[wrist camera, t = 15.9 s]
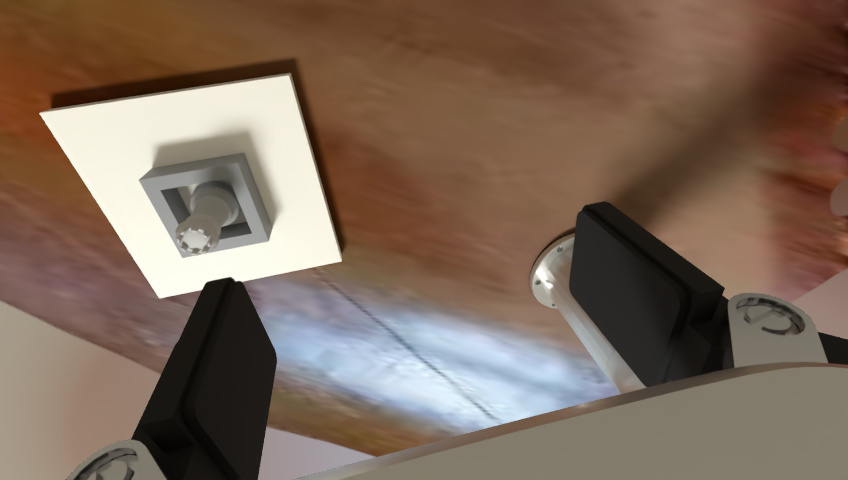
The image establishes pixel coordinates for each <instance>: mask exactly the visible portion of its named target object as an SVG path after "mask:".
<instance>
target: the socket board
mask: <svg viewBox="0 0 848 480" xmlns="http://www.w3.org/2000/svg"><path fill="white" fill-rule="evenodd" d="M39 114H40V115H41V117H42V118H43V120H44V121H45V123H46V124H47V126H48V127H49V129H50V130H51V132H52V134H53V135H54V137H55V138H56V140H57V141H58V143H59V144H60V146H61V147H62V149H63V151H64V152H65V154H66V155H67V157H68V158H69V160H70V161H71V163H72V164H73V166H74V168H75V169H76V171H77V172H78V174H79V175H80V177H81V178H82V180H83V181H84V183H85V184H86V186H87V188H88V189H89V191H90V192H91V194H92V195H93V197H94V198H95V200H96V201H97V203H98V205H99V206H100V208H101V209H102V211H103V212H104V214H105V215H106V217H107V218H108V220H109V221H110V223H111V225H112V226H113V228H114V229H115V231H116V232H117V234H118V235H119V237H120V238H121V240H122V242H123V243H124V245H125V246H126V248H127V249H128V251H129V252H130V254H131V255H132V257H133V258H134V260H135V262H136V263H137V265H138V266H139V268H140V269H141V271H142V272H143V274H144V275H145V277H146V279H147V280H148V282H149V283H150V285H151V286H152V288H153V289H154V291H155V292H156V294H157V295H158V297H159V298H164V297H169V296H173V295H178V294H183V293H188V292H193V291H198V290H202V289H203V287H204V285H205V284H206V282H208V281H212V280H217V279H222V278H227V277H232V278H233V279H234V280H235V281H241V282H242V281H247V280H252V279H257V278H262V277H267V276H272V275H277V274H282V273H286V272H291V271H296V270H301V269H306V268H311V267H316V266H321V265H326V264H331V263H336V262H341V261H342V254H341V250H340V246H339V243H338V239H337V236H336V232H335V229H334V225H333V221H332V218H331V214H330V211H329V207H328V204H327V200H326V197H325V193H324V189H323V186H322V182H321V179H320V175H319V172H318V168H317V164H316V161H315V157H314V154H313V150H312V147H311V143H310V140H309V136H308V132H307V129H306V125H305V122H304V118H303V115H302V111H301V107H300V104H299V100H298V97H297V93H296V90H295V86H294V83H293V79H292V75H291V73H285V74H278V75H271V76H265V77H258V78H251V79H245V80H238V81H232V82H225V83H218V84H212V85H205V86H198V87H192V88H185V89H179V90H172V91H165V92H159V93H152V94H145V95H139V96H132V97H126V98H119V99H112V100H106V101H99V102H92V103H86V104H79V105H73V106H66V107H59V108H53V109H49V110H46V111H43V112H41V113H39ZM210 181H219V182H224V183H226V184H228V185H230V186H232V187H233V189H234V192H235V194H236V196H237V199H238V201H239V204H240V206H241V208H242V211H241V213H240V214H239V216H238V217H237V219H236V220H235V221H234V222H232V223H230V224H229V225H227V226H223V227H221V233H220V235H219V244H218V245H217V247H216V248H215V249H213V250H212V251H210V252H207V253H205V254H203V253H199V254H198V256H195V255H191V251H189V250H186V251H185V252H183V251H182V250H181V249H180V246H181V245H180V244H179V243H177V239H176V233H175V230H176V228H177V227H178V225H179V224H180V223H182V222H183V221H185V220H186V219H187V217H189V216H190V215H192V210H191V208H190V198H191V196H192V195H193V192H194V191H195V189H196V187H197V186H199V185H200V184H202V183H205V182H210Z"/></svg>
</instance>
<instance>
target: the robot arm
mask: <svg viewBox="0 0 848 480" xmlns="http://www.w3.org/2000/svg"><path fill="white" fill-rule="evenodd" d="M530 287H531V290H532V292H533V294H534V295H535V297H536V298H537V300H538V301H539V302H540V303H542V304H543V305H545V306H547V307H550V308H557V309H558V310H559V311H560V312H561V314H562V315H563V317H564V318H565V319H566V321H567V322H568V324H569V325H570V326H571V328H572V329H573V330H574V332H575V333H576V335H577V336H578V337H579V339H580V340H581V341H582V343H583V344H584V346H585V347H586V348H587V350H588V351H589V353H590V354H591V355H592V357H593V358H594V359H595V361H596V362H597V364H598V365H599V366H600V368H601V369H602V370H603V372H604V373H605V375H606V376H607V377H608V379H609V380H610V381H611V383H612V384H613V386H614V387H615V388H616V389H617V390H618V391H619V393H621V394H620V395H616V396H612V397H608V398H604V399H600V400H596V401H592V402H588V403H584V404H580V405H576V406H572V407H568V408H564V409H560V410H556V411H553V412H549V413H545V414H541V415H537V416H533V417H529V418H525V419H521V420H518V421H514V422H510V423H506V424H502V425H498V426H494V427H490V428H487V429H483V430H479V431H475V432H471V433H467V434H463V435H460V436H456V437H452V438H448V439H444V440H440V441H436V442H432V443H429V444H425V445H421V446H417V447H413V448H410V449H406V450H402V451H398V452H394V453H391V454H387V455H383V456H379V457H376V458H372V459H368V460H364V461H360V462H357V463H353V464H349V465H345V466H341V467H338V468H334V469H330V470H327V471H323V472H319V473H315V474H311V475H308V476H304V477H301V478H297V479H294V480H848V340H847V339H843V338H840V337H836V336H832V335H828V334H824V333H820V332H817V329H816V326H815V324H814V323H813V321H812V319H811V318H810V317H809V316H808V315H807V314H806V313H805V312H804V311H802V310H801V309H800V308H798V307H796V306H795V305H793V304H791V303H789V302H787V301H784V300H782V299H780V298H777V297H773V296H769V295H766V294H759V293H741V294H738V295H735V296H733V297H732V298H731V299H730V300H728V299H726V298H725V297H724V296H723V295H722V294H723V291H724V289H725V288H724V287H723V286H721V285H720V284H719V283H717V282H716V281H714V280H713V279H712V278H710V277H709V276H708V275H706V274H705V273H704V272H702V271H701V270H699V269H698V268H697V267H695V266H694V265H693V264H691V263H690V262H689V261H687V260H686V259H685V258H683V257H682V256H680V255H679V254H678V253H676V252H675V251H674V250H672V249H671V248H670V247H668V246H667V245H665V244H664V243H663V242H661V241H660V240H659V239H657V238H656V237H655V236H653V235H652V234H651V233H649V232H648V231H646V230H645V229H644V228H642V227H641V226H640V225H638V224H637V223H636V222H634V221H633V220H631V219H630V218H629V217H627V216H626V215H625V214H623V213H622V212H621V211H619V210H618V209H616V208H615V207H614V206H612V205H611V204H610V203H608V202H599V203H594V204H589V205H586V206H584V207H583V209H582V211H580V212H579V213H578V215H577V221H576V229H575V233H572V234H570V235H567V236H564V237H563V238H561V239H559V240H557V241H556V242H554V243H553V244H551V245H550V246H549V247H548V248H547V249H546V250H545V251H544V252H543V253H542V254H541V255H540V256H539V258H538V259H537V260H536V262H535V264H534V266H533V268H532V272H531V275H530ZM276 364H277V357H276V352H275V349H274V347H273V345H272V343H271V341H270V339H269V337H268V335H267V332H266V330H265V328H264V326H263V324H262V322H261V320H260V318H259V316H258V314H257V311H256V309H255V307H254V305H253V303H252V301H251V299H250V297H249V295H248V293H247V291H246V288H245V286H244V284H243V283H242V282H241V281H235V280H234V279H233V278H232V277H227V278H222V279H217V280H212V281H208V282H206V284H205V285H204V287H203V289H202V292H201V294H200V296H199V298H198V300H197V302H196V304H195V307H194V309H193V311H192V313H191V315H190V317H189V320H188V322H187V324H186V326H185V328H184V330H183V332H182V335H181V337H180V339H179V341H178V342H177V344H176V345H175V347H174V349H173V351H172V353H171V355H170V357H169V359H168V362H167V364H166V366H165V368H164V370H163V372H162V374H161V377H160V379H159V381H158V383H157V385H156V387H155V390H154V391H153V394H152V396H151V398H150V400H149V402H148V404H147V407H146V409H145V411H144V413H143V415H142V417H141V419H140V421H139V424H138V426H137V428H136V430H135V432H134V435H133V436H132V439H131V440H124V441H118V442H115V443H113V444H111V445H108V446H106V447H104V448H102V449H100V450H99V451H97V452H96V453H94V454H92V455H91V456H89V457H88V458H87V459H86V460H85V461H83V462H82V463H81V464H80V465H79V466H77V467H76V468H75V470H74V471H73V472H72V473H71V474H70V475H69V476H68V477H67V478H66V479H65V480H258V474H259V467H260V462H261V456H262V450H263V443H264V437H265V431H266V425H267V419H268V413H269V407H270V401H271V395H272V389H273V382H274V376H275V370H276Z"/></svg>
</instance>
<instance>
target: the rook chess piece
mask: <svg viewBox="0 0 848 480" xmlns="http://www.w3.org/2000/svg"><path fill="white" fill-rule="evenodd" d="M190 208H191V210H192V215H190V216H189V217H187V219H186V220H185V221H183V222H182V223H180V224H179V225H178V227H177V228H176V230H175V233H176V239H177V243H179V244H180V245H181V246H180V249H181V250H182V251H183V252H185V251H186V250H189V251H191V255H195V256H198V254H199V253H203V254H205V253H207V252H210V251H212V250H213V249H215V248H216V247H217V245H218V244H219V235H220V233H221V227H223V226H227V225H229V224H230V223H232V222H234V221H235V220H236V219H237V217H238V216H239V214H240V213H241V211H242V208H241V206H240V204H239V201H238V199H237V196H236V194H235V192H234V189H233V187H232V186H230V185H228V184H226V183H224V182H219V181H210V182H205V183H202V184H200V185H199V186H197V187H196V189H195V191H194V192H193V195H192V196H191V198H190Z"/></svg>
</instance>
